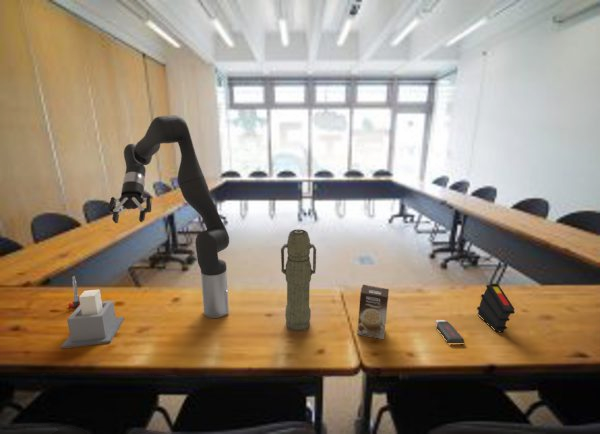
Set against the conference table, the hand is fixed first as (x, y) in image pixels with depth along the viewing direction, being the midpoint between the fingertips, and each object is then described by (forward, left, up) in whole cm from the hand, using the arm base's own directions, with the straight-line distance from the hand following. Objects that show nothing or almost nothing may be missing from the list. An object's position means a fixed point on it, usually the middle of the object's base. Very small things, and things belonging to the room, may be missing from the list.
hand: (128, 221), depth 115 cm
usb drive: (-109, +41, -35) cm, 121 cm away
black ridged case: (-128, +40, -35) cm, 138 cm away
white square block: (+10, +16, -34) cm, 38 cm away
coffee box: (-83, +35, -35) cm, 96 cm away
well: (+10, +16, -35) cm, 39 cm away
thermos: (-59, +25, -35) cm, 73 cm away
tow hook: (+22, -7, -35) cm, 42 cm away
